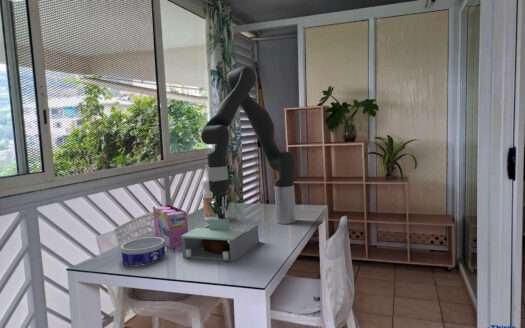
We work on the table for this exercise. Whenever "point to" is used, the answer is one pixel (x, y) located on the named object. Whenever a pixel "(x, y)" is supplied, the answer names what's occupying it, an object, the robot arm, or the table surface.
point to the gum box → (170, 224)
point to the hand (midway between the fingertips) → (222, 223)
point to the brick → (215, 246)
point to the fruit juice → (207, 197)
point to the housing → (237, 249)
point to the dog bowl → (143, 250)
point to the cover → (215, 231)
